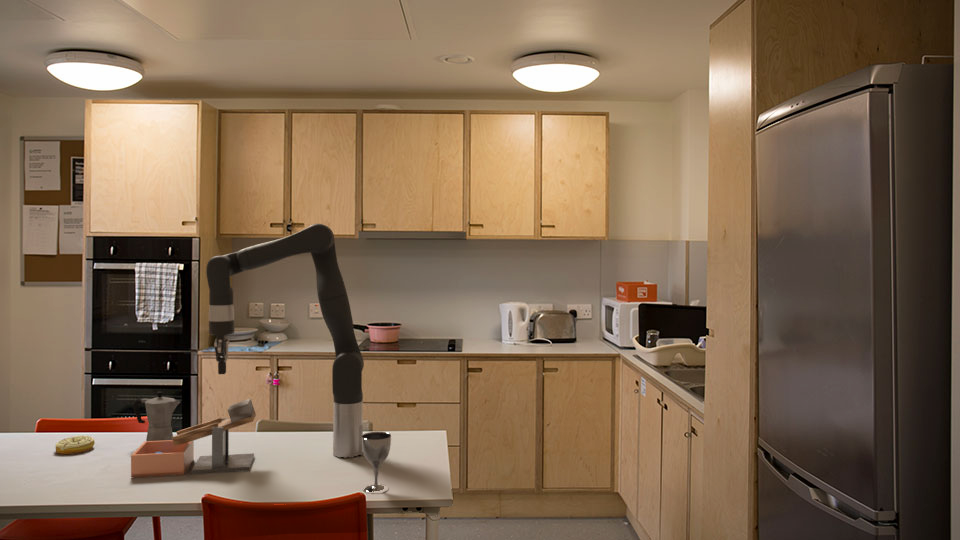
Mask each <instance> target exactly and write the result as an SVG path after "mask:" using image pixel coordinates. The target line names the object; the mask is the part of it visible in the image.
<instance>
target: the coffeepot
mask: <svg viewBox="0 0 960 540" xmlns="http://www.w3.org/2000/svg"><path fill="white" fill-rule="evenodd" d="M156 393H157V397H153V398H141V397H140V398H136V399H135V400H134V402H132V409H133V410H134V411H133V412H134V413H135V416H136V419H137V422H138V424H145V423H146V420H143V419H142V414H141V411H140V406H139V405H142V406H145V411H146V417H147V422H148V427H147V434H146V439H145V440H146V441H163V440H172V437H173V436H174V434H173V429H172V419H173V413H174V411H175V409H176V408H177V406H178V405H179V404H180V403H181V401H180V400H178V399H175V398H173V397H166V396H162V395H163V391H157V392H156Z"/></svg>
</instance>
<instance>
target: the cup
mask: <svg viewBox="0 0 960 540" xmlns="http://www.w3.org/2000/svg"><path fill="white" fill-rule="evenodd" d="M194 441H195V440H194ZM194 441H191V442H188V443H184V444H181V445H178V446H175V447H174V445H173V440H163V441H143V442H142V444H140V445H139V447H138V448H136V449H135V451H134V452H133V453H132V454H131V455H130V478H131V477H140V478H150V477H149V476H158V477H165V476H164V475H176V476H184V475H185V474H184V473H187V471H188V469H189V468H188V467H190V466H191V465H192V463H193V461H194V460H195V459H194V447H195V444H194V443H195V442H194ZM156 452H162V453H156ZM155 453H156V454H155ZM190 464H191V465H190ZM187 468H188V469H187ZM186 470H187V471H186Z"/></svg>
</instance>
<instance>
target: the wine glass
mask: <svg viewBox="0 0 960 540" xmlns="http://www.w3.org/2000/svg"><path fill="white" fill-rule="evenodd" d="M391 446H392V435H391V433H389V432H386V431H370V432H367V433H363V435H362V448H363V452H362V454H363V457H365V459H366V460H367V461H368V462H369V464H370V465H371V467H372V469H373V474H374V484H370V486H369V485H366V486H367V487H366V486H365V487H366V488H365V489H364V490H363V489H362V490H363V492H364V493H366V492H372V491H373V492H374V491H380V490H383V489H384V486H382V485H383V484H380V485H378V484H379V483H378V481H379V480H378V477H379V471H380V467H381V465H382V464H383V463H384V462H385V461H386V459H387V458H388V457H389V455H390V451H391Z"/></svg>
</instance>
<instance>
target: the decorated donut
mask: <svg viewBox="0 0 960 540" xmlns="http://www.w3.org/2000/svg"><path fill="white" fill-rule="evenodd" d="M95 443H96V442H95V438H93V437H92V436H89V435H75V436H71V437H70V436H69V437H66V438H63V439H61V440H59V441H58V442H57V443H56V444H55V446H54V447H55V452H56V453H57V454H58V453H60V454H59V455H72V454H71V453H76V454H79V452H80V453H85V452H87V450H88V451H89V450H91V449H93V447H94V445H95Z"/></svg>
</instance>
